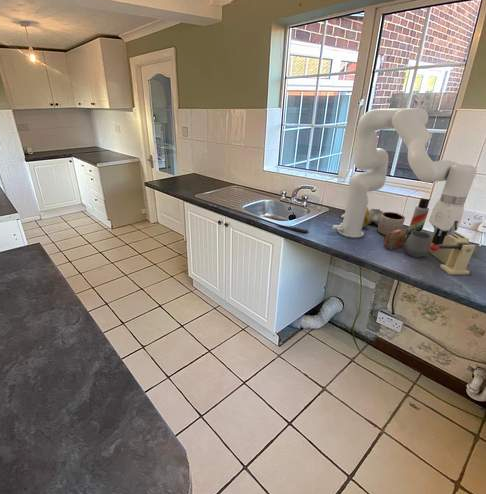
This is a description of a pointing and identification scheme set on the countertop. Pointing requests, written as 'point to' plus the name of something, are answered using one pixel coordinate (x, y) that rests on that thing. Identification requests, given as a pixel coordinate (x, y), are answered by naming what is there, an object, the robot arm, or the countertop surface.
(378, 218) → the fossil
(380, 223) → the planter
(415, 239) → the cup
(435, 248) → the red knob lever
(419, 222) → the spray bottle
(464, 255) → the lever bracket
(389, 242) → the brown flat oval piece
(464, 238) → the toaster
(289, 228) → the knife
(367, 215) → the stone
